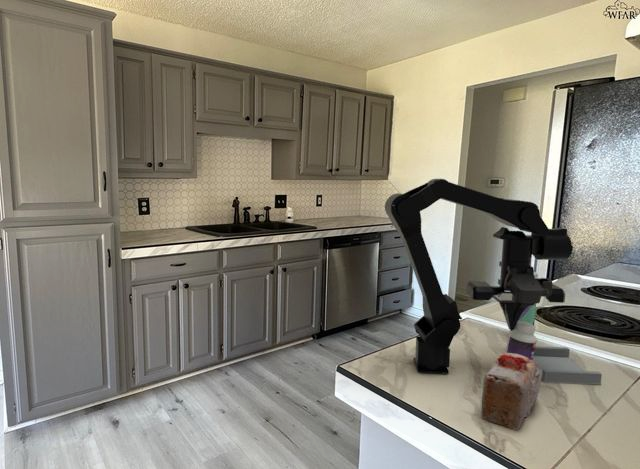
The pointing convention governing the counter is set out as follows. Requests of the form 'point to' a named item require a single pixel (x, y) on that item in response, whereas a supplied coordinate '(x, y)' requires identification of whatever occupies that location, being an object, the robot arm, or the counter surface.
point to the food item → (510, 390)
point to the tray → (562, 367)
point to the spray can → (529, 312)
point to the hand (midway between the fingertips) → (511, 329)
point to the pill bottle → (522, 340)
